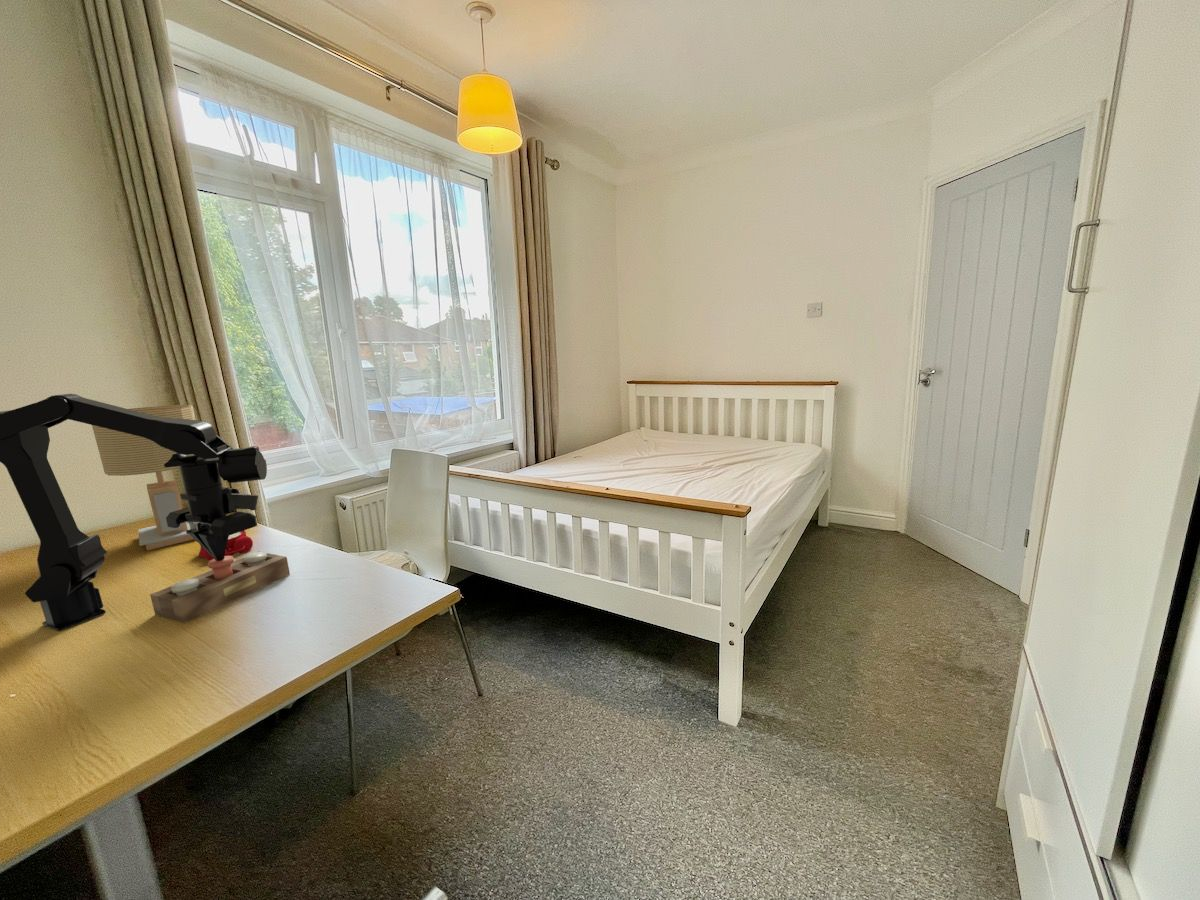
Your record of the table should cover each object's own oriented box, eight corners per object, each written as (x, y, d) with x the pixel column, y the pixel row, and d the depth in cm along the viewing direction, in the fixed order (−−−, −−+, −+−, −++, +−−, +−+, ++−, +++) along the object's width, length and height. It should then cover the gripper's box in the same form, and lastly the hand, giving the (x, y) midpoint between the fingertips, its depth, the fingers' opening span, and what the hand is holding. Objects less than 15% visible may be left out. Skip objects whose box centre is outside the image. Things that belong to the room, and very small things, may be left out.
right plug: (256, 583, 100) (251, 560, 99) (244, 580, 102) (239, 558, 101) (275, 574, 104) (270, 553, 103) (262, 572, 106) (258, 550, 105)
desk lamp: (125, 538, 130) (91, 411, 123) (214, 519, 144) (189, 403, 136) (124, 559, 117) (86, 417, 109) (224, 535, 130) (196, 407, 123)
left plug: (185, 615, 89) (179, 590, 88) (172, 611, 90) (166, 587, 89) (209, 604, 92) (203, 580, 91) (196, 601, 94) (190, 577, 93)
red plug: (220, 589, 94) (215, 565, 93) (208, 586, 96) (203, 562, 95) (242, 580, 98) (237, 557, 97) (229, 577, 99) (224, 554, 98)
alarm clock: (241, 525, 127) (254, 525, 117) (247, 548, 127) (260, 549, 117) (191, 537, 119) (200, 538, 109) (197, 561, 120) (207, 564, 110)
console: (185, 623, 86) (179, 602, 86) (155, 614, 90) (149, 594, 89) (290, 574, 105) (287, 556, 104) (262, 568, 108) (258, 551, 107)
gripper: (276, 478, 96) (290, 549, 100) (218, 472, 103) (233, 539, 106) (216, 494, 86) (233, 573, 89) (156, 486, 93) (174, 560, 96)
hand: (220, 560), depth 96 cm, fingers closed, pressing on red plug
